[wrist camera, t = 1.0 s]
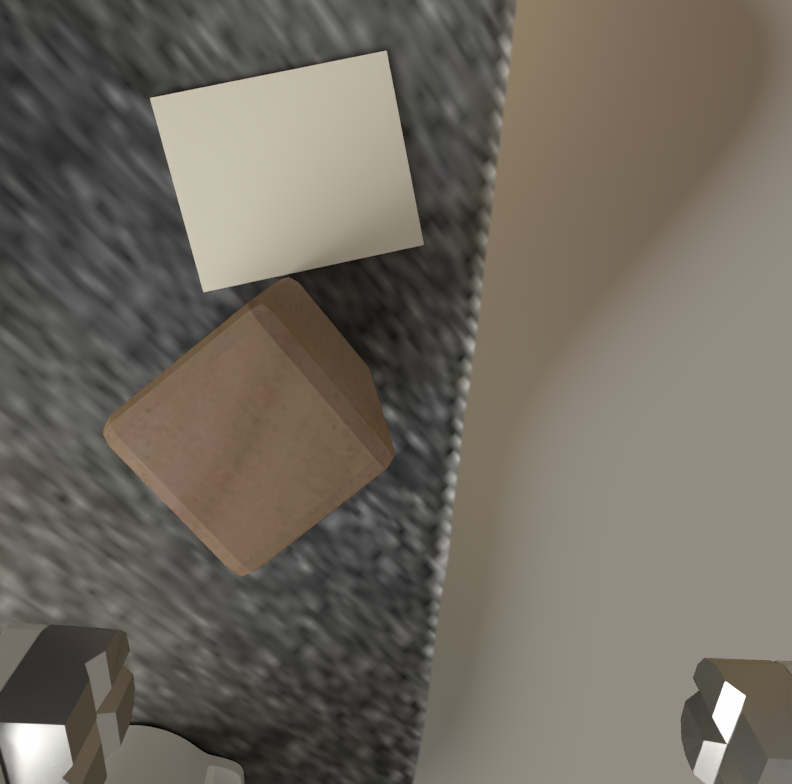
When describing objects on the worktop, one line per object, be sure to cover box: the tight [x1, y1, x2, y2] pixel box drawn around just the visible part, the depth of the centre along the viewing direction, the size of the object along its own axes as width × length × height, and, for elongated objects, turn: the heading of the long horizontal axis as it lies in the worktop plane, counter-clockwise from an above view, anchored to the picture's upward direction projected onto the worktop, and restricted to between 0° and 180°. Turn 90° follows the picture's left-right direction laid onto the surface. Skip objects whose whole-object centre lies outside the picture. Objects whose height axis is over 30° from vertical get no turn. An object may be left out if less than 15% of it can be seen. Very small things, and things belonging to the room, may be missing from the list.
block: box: [103, 277, 395, 576], centre depth 39 cm, size 10×10×20 cm
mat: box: [150, 51, 424, 292], centre depth 46 cm, size 13×16×1 cm
